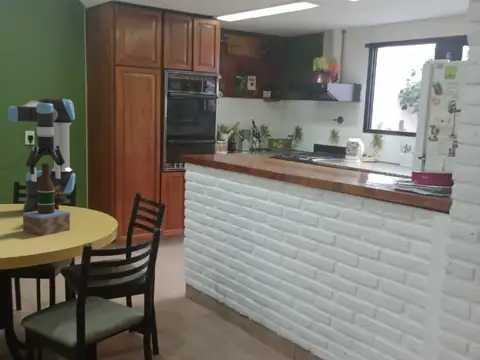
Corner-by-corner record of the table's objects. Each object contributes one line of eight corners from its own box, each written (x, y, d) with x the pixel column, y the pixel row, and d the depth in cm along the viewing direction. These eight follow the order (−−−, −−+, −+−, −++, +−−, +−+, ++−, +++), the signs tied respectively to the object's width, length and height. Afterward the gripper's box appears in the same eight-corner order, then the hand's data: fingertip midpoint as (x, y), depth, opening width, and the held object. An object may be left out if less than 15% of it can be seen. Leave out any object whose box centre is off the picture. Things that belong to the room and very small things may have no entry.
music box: (65, 224, 259) (64, 186, 256) (42, 225, 256) (41, 186, 253) (67, 218, 273) (66, 182, 270) (45, 218, 270) (45, 182, 268)
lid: (51, 210, 254) (51, 208, 254) (69, 214, 247) (69, 212, 247) (23, 215, 241) (23, 213, 241) (41, 219, 234) (41, 217, 233)
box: (51, 225, 255) (51, 210, 254) (69, 230, 248) (69, 214, 247) (23, 231, 242) (23, 215, 241) (42, 236, 235) (41, 219, 234)
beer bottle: (47, 214, 239) (46, 164, 236) (34, 213, 242) (33, 163, 239) (58, 212, 246) (57, 163, 243) (45, 210, 249) (44, 162, 246)
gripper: (61, 134, 251) (62, 176, 254) (17, 136, 230) (18, 181, 233) (71, 135, 247) (72, 177, 251) (27, 137, 226) (28, 183, 229)
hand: (46, 179), depth 242 cm, fingers open, 13 cm apart
